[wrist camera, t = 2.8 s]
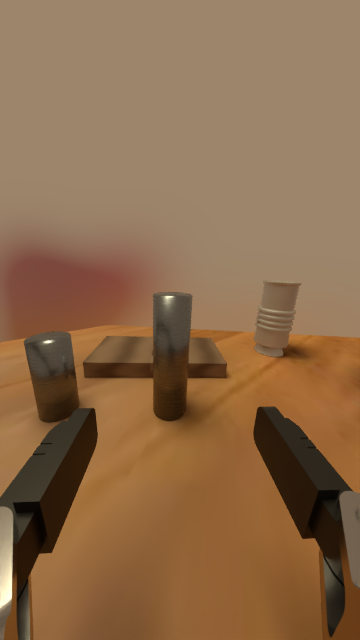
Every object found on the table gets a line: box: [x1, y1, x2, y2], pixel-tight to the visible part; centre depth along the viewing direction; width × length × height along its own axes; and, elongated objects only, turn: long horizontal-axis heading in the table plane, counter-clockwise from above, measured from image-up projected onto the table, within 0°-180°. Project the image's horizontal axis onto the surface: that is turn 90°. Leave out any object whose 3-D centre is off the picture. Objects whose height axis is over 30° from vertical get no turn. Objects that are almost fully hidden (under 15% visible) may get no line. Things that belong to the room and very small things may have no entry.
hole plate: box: [83, 336, 227, 377], centre depth 33 cm, size 22×11×2 cm, turn 93°
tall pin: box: [153, 292, 192, 421], centre depth 21 cm, size 4×4×14 cm
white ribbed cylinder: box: [254, 280, 301, 357], centre depth 38 cm, size 7×7×15 cm
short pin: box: [24, 332, 79, 422], centre depth 20 cm, size 4×4×9 cm
